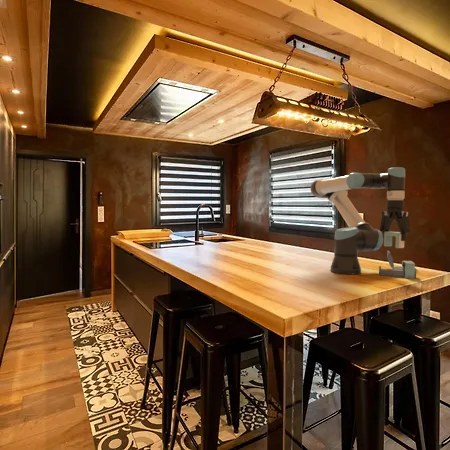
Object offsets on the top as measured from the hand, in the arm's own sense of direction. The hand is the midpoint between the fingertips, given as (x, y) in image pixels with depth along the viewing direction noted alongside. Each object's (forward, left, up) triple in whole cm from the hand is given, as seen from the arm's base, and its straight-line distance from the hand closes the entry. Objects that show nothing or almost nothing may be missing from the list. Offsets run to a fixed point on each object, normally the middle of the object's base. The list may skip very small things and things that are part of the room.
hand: (393, 246), depth 157 cm
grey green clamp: (+2, +3, -15) cm, 16 cm away
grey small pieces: (+7, +19, -15) cm, 25 cm away
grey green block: (0, 0, 0) cm, 0 cm away
